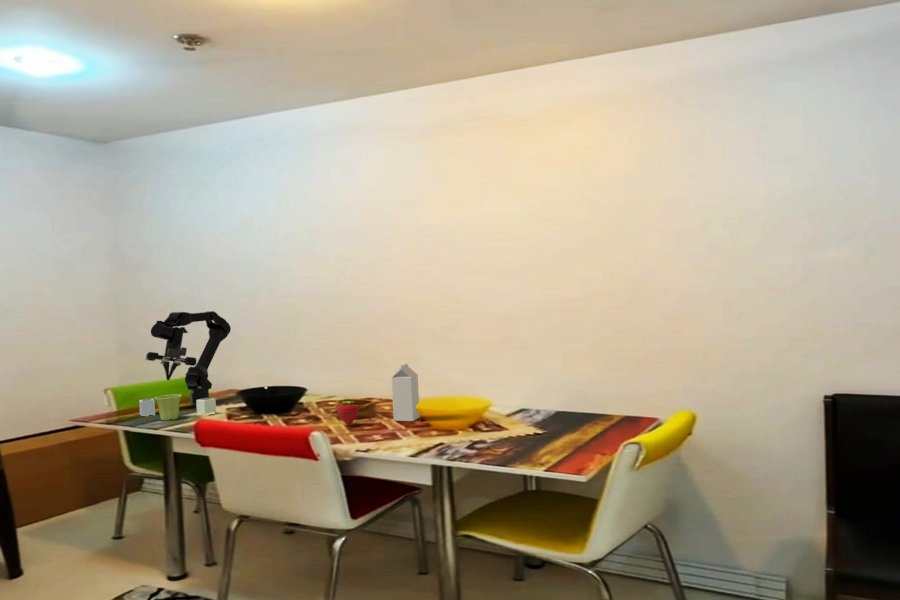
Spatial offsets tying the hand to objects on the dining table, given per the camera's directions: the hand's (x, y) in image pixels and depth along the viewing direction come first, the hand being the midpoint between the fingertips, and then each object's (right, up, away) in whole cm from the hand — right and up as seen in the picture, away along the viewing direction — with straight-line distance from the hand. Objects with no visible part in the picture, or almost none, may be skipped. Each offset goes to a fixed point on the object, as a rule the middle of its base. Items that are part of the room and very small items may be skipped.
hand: (167, 380), depth 273 cm
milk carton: (+99, -9, -39) cm, 107 cm away
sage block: (+20, -12, -11) cm, 26 cm away
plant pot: (+8, -13, -17) cm, 23 cm away
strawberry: (+80, -10, -46) cm, 92 cm away
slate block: (-5, -13, -6) cm, 15 cm away
